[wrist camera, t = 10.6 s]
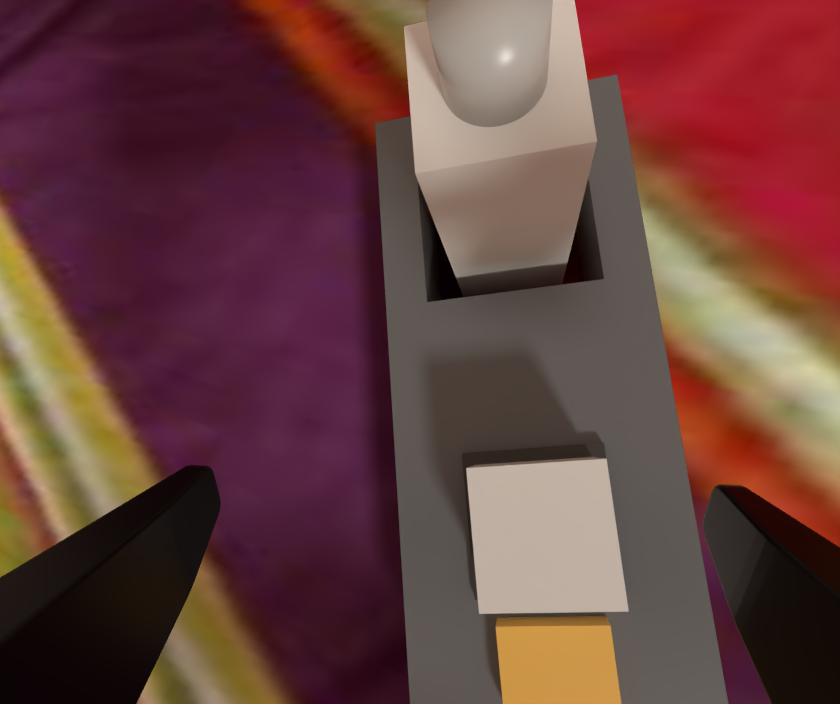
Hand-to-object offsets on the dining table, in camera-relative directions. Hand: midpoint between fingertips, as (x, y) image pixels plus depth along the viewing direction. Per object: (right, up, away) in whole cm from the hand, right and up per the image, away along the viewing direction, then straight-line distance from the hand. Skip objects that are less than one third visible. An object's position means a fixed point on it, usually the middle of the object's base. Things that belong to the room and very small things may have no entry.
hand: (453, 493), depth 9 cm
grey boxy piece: (+4, +1, +11) cm, 12 cm away
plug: (+3, +7, +13) cm, 15 cm away
